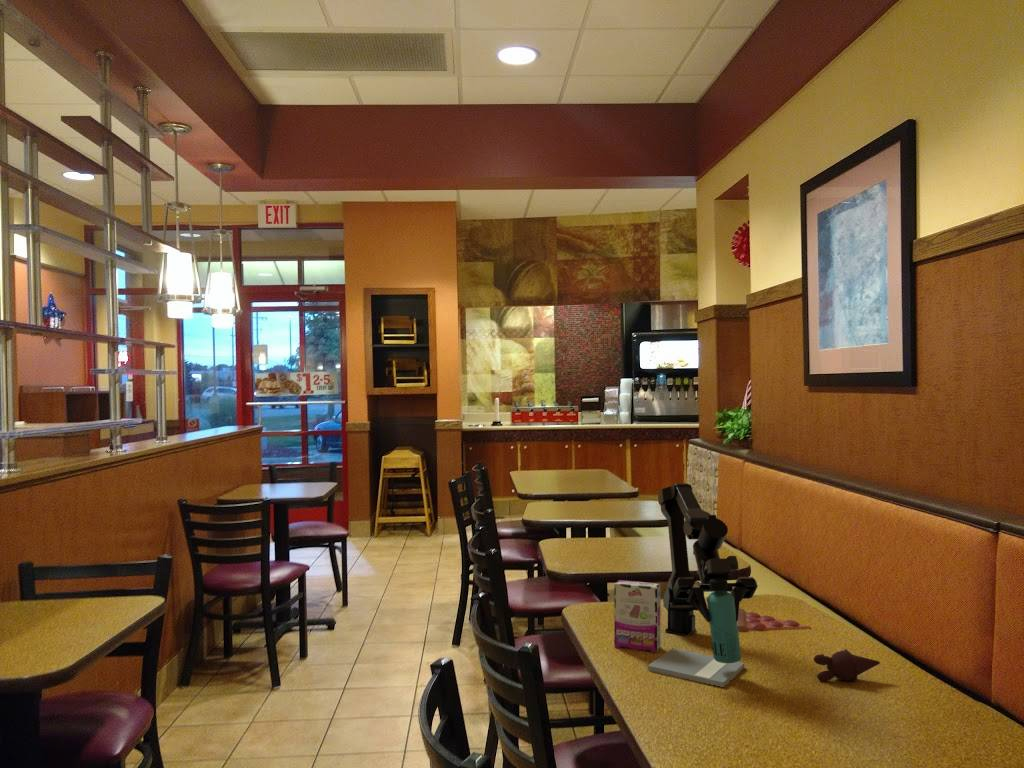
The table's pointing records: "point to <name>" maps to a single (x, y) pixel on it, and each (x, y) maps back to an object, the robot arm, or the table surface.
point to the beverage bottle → (723, 623)
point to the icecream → (843, 665)
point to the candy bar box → (637, 616)
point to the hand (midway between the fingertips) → (722, 621)
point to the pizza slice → (763, 622)
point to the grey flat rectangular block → (695, 667)
